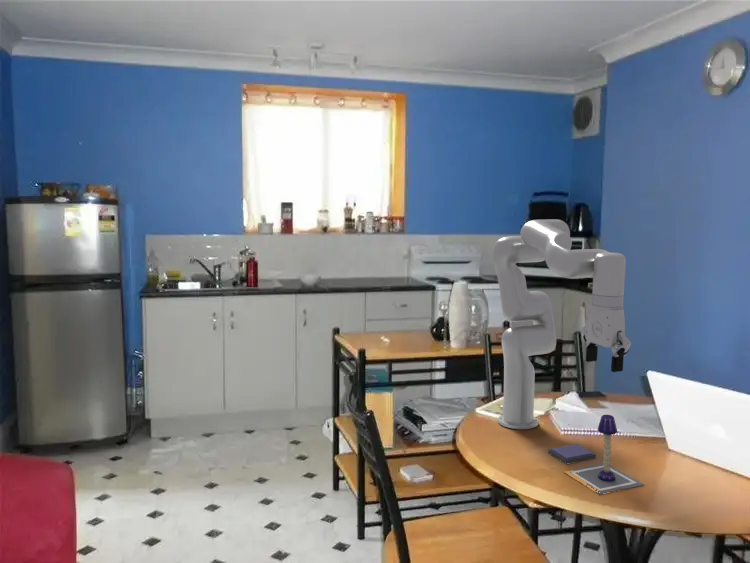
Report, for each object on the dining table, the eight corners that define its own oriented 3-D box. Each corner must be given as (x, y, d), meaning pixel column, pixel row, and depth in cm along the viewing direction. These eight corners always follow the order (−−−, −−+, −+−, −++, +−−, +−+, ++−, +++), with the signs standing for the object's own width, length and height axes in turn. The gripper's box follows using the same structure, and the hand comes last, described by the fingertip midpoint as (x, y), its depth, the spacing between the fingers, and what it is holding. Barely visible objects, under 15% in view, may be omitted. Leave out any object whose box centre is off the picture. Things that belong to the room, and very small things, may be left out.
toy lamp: (612, 483, 163) (615, 420, 160) (593, 479, 165) (596, 417, 163) (616, 476, 167) (619, 414, 164) (598, 472, 169) (601, 411, 167)
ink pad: (548, 453, 183) (548, 448, 183) (576, 448, 186) (577, 443, 186) (565, 464, 175) (566, 458, 175) (595, 458, 179) (595, 453, 179)
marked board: (563, 472, 170) (563, 470, 170) (605, 464, 175) (605, 462, 175) (599, 495, 157) (599, 493, 157) (644, 485, 162) (644, 484, 162)
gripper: (573, 296, 171) (570, 358, 174) (619, 308, 155) (615, 377, 158) (596, 294, 173) (593, 356, 176) (644, 306, 157) (639, 374, 160)
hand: (603, 366), depth 167 cm, fingers open, 9 cm apart
